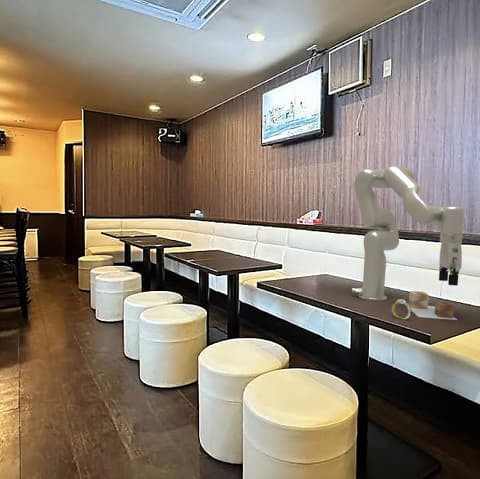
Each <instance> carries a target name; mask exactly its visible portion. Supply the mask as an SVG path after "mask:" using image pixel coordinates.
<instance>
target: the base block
mask: <svg viewBox="0 0 480 479" xmlns="http://www.w3.org/2000/svg"><path fill="white" fill-rule="evenodd" d="M408 294H409V295H408V296H409V298H408V304H409V305H410V306H411V307H412V308H417V309H428V306H429V298H430V295H429V294H428V293H426V292H425V291H417V290H410V291H409V293H408Z"/></svg>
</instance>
